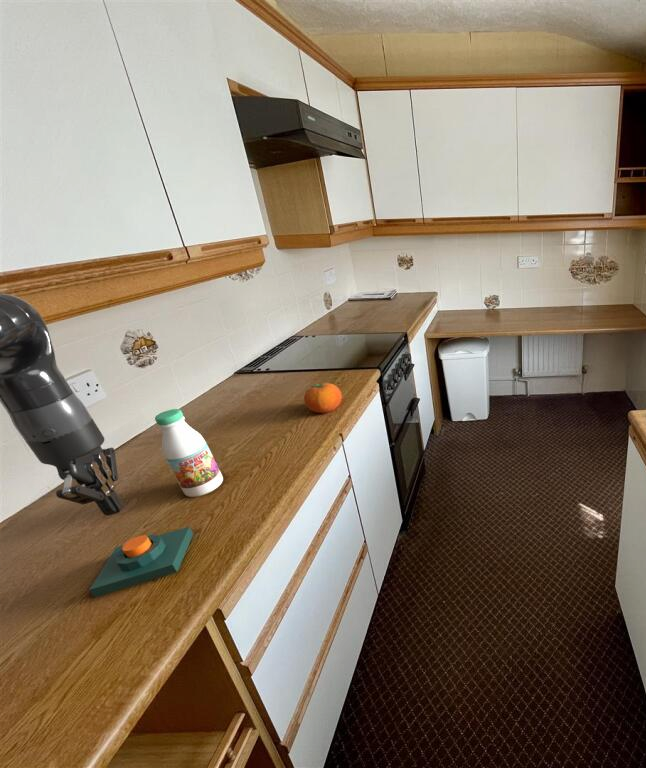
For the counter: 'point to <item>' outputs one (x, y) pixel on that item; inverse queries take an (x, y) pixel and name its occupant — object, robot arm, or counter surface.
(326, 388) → the fruit
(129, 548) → the orange push button
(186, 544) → the cap housing
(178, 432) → the milk bottle
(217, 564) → the counter surface
